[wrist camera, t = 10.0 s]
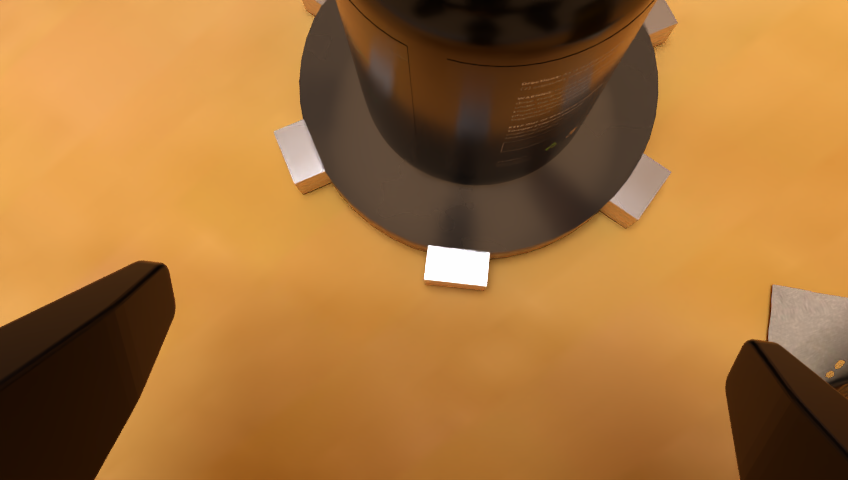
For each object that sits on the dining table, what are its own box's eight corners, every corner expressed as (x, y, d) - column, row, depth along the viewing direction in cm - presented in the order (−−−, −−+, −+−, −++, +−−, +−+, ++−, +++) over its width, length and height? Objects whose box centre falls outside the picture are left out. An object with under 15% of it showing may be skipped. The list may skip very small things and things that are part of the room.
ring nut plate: (742, 61, 20) (761, 43, 19) (532, 362, 19) (538, 362, 17) (427, -135, 22) (426, -163, 21) (209, 124, 20) (194, 110, 19)
